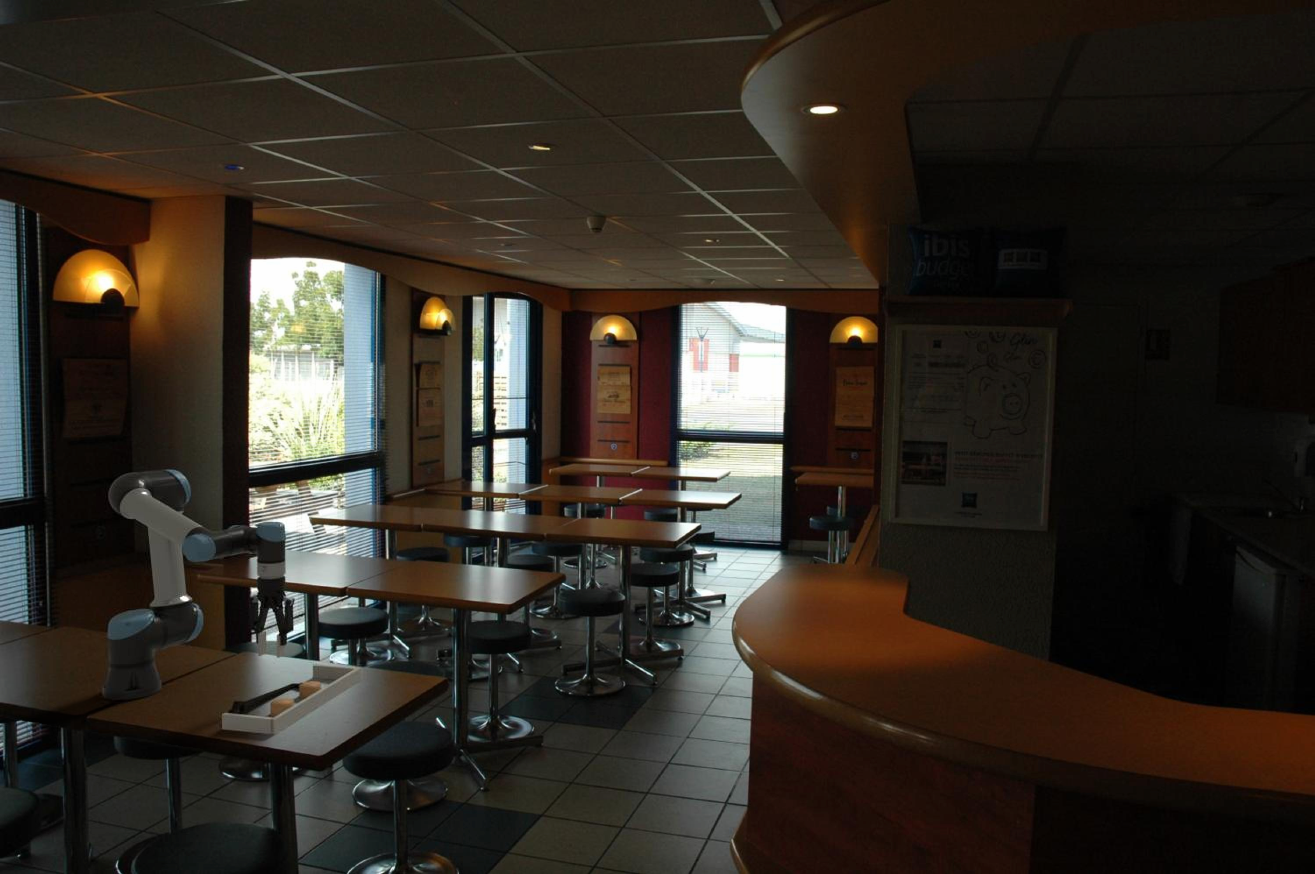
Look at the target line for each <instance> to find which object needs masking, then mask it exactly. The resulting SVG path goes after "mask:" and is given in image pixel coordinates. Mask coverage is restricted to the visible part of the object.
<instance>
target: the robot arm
mask: <svg viewBox="0 0 1315 874" xmlns="http://www.w3.org/2000/svg"><path fill="white" fill-rule="evenodd" d="M191 491H192V490H191V486H190V483H189V481H188V479H187V477H186V476H185V475H183V473H182V472H180V471H179V470H175V469H157V470H147V471H138V472H135V471H134V472H128V473H125V474H122V475H120V476H119V477H117V478H116V479H115V480H114V481H113V482H112V484H111V485H110V488H109V489H108V502H109V504H110V506H111V508H112V509H113V510H114V511H115V512H116V513H118V514H119V515H121V516H122V517H124V518H126V519H130V520H134V519H135V520H137V521H138V522H139V523H141V524H143V525H145V526H146V527H147V531H148V540H149V541H148V542H149V550H150V561H151V571H152V574H151V575H152V583H153V593H154V599H153V601H151V603H150V604H149V608H139V609H138V608H137V609H134V610H133V609H131V610H127V611H124V612H121V613H118V614H116V615H114V616H113V617H112V618H111V619H110V621H109V622H108V629H107V634H106V635H107V639H108V641H107V642H108V644H107V645H108V647H107V648H108V671H107V673H106V676H105V680H104V683H103V686H102V691H101V692H102V694H101V695H103V696H102V698H104V699H107V700H111V701H127V700H135V699H140V698H145V697H149V696H151V695H152V696H153V695H154V694H156V693H158V692H160V690H161V689H162V679H161V677H160V676H159V672H158V670H157V666H156V664H155V652H156V651H160V650H163V649H167V648H170V647H174V646H177V645H183V644H185V643H187V642H190V641H192V640H194V639H196V638H197V637H198V636H199V634H200V633H201V631H202V628H203V625H204V615H203V612H202V611H203V610H202V609H200V608H201V607H200V606H199V605H198V604H197V603H194V602H193V598H192V597H191V596H190V595H188V593H187V588H186V577H185V567H184V557H183V555H184V556H185V558H186V559H187V560H188V561H189V562H192V563H197V562H198V563H199V562H207V561H210V560H214V559H219V558H225V557H230V556H235V555H240V554H254V555H256V558H257V559H256V566H257V567H256V573H257V574H256V575H257V576H258V577H257V578H256V583H257V584H256V589H257V593H256V594H253V595H250V596H248V597H247V600H248V603H249V623H248V624H249V627H248V629H249V631H253V632H255V643H256V644H257V651H258V652H257V656H259V657H262V656H263V655H266V654H267V631H266V628H265V627H266V626H265V625H266V621H267V618H268V614H269V610H270V609H271V611H272V613H274V617H275V621H276V625H277V631H278V633H277V635H276V658H278V659H279V658H281V657H284V656H285V654H286V651H285V649H286V648H285V647H286V645H287V644H288V634H289V633H292V632H294V629H295V628H294V604H295V601H296V600H295V597H288V596H287V595H286V591H285V590H286V573H287V571H286V539H287V534H286V525H285V524H284V523H283V522H280V521H262V522H259V523H258V524H257V526H256V527H255V526H254V527H253V526H248V525H244V524H243V525H242V524H240V525H237V524H236V525H232V526H230V527H228V528H227V529H221V530H215V531H211V530H210V529H208V528H206V527H204V526H203V525H200V524H199V523H197V522H195V521H194V520H192V519H190V518H189V517H187V516H185V515H183V514H184V506H185V505H186V504H187V503H189V501H190V498H191V493H192V492H191ZM259 603H260V605H259Z"/></svg>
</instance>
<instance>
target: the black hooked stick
mask: <svg viewBox="0 0 1315 874" xmlns="http://www.w3.org/2000/svg"><path fill="white" fill-rule="evenodd" d="M302 683H303V682H298V683H290V684H288V685H285V686H283V687H280V688H277V689H275V690H274V689H273V690H272V691H269V692H266V693H263V694H261V695H258V696H255V697H252V698H250V699H247V700H234V701H233V703H232V706H231V708H230V709H229V710H228V711H227V712H226V713H231V714H241V715H247V713H248V711H251V710H252V709H254V708H256V707H258V706H261V705H262V704H264V703H266V702H268V701H270V700H273V699H275V698H276V697H278V696H280V695H283V694H285V693H287V692H289V691H291V690H299V685H300V684H302Z"/></svg>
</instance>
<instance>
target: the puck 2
mask: <svg viewBox="0 0 1315 874" xmlns="http://www.w3.org/2000/svg"><path fill="white" fill-rule="evenodd" d="M301 683H302V684H300V685H299V689H298V690H299V691H298V693H299V694H298V695H299V697H300V698H301V700H304V699H306V698H307V697H309V696H311V695H312V694H314V693H316V692H317V691H319V690H321V689H322V683H321V682H320V681H315V680H311V681H305V682H301ZM299 697H298V698H299ZM300 698H299V699H300Z"/></svg>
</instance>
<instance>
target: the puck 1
mask: <svg viewBox="0 0 1315 874" xmlns="http://www.w3.org/2000/svg"><path fill="white" fill-rule="evenodd" d="M294 701H295V700H294V699H292V698H287V697H285V698H284V697H282V698H278V699H274V700H271V702H270V717H272V718H274V717H275V716H277V715H279V714H280V713H282V712H284V711H285V710H287V709H289V708H291V707H292V706H294V705H295V702H294Z"/></svg>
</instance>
